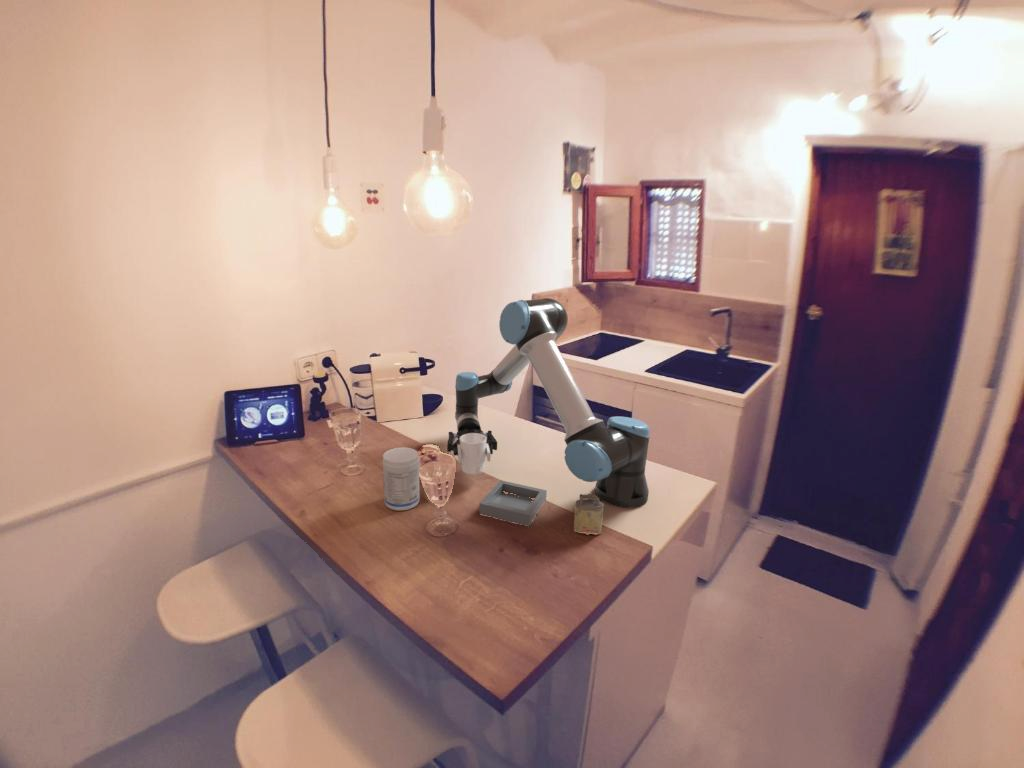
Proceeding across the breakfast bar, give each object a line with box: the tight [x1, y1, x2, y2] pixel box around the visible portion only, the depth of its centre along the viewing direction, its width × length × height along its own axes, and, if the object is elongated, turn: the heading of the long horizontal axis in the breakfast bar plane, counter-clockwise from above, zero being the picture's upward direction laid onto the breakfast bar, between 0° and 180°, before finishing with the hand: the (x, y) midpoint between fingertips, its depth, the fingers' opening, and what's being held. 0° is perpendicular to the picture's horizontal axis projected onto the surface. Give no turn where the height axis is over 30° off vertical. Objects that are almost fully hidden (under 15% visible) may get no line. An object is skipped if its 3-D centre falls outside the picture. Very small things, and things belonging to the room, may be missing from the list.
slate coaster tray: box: [479, 479, 548, 526], centre depth 135 cm, size 14×14×4 cm
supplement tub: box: [382, 447, 421, 512], centre depth 134 cm, size 10×10×15 cm
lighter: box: [573, 493, 604, 533], centre depth 124 cm, size 7×4×10 cm, turn 85°
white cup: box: [459, 433, 487, 475], centre depth 145 cm, size 8×8×10 cm
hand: (474, 457), depth 140 cm, fingers closed on white cup, 8 cm apart
